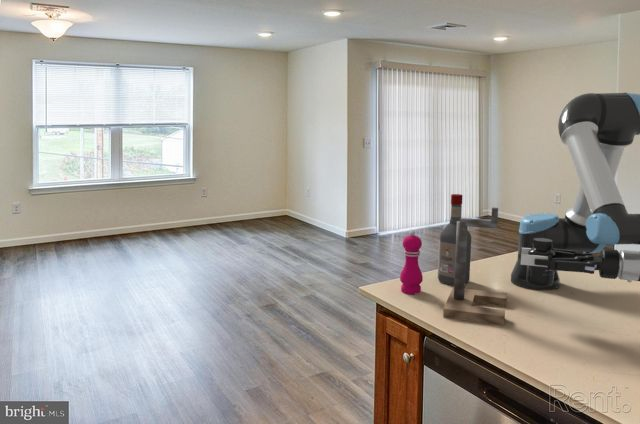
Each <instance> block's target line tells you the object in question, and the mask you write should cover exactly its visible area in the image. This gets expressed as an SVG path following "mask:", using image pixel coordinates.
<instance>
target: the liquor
mask: <svg viewBox="0 0 640 424" xmlns="http://www.w3.org/2000/svg"><path fill="white" fill-rule="evenodd" d="M462 204H463V194H459V193H453V194H451V195H450V205H451V206H450V217H449V218H450V219H449V223H448V224H447V225H446V226H445V227H444V228H443V229H442V230H441V231H440V232H439V234H438V255H437V256H438V257H437V258H438V259H437V261H438V262H437V279H438V281H439V282H440V283H441V284H445V285H448V286H449V285H450V286H453V287H454V277H455V254H456V230H457V221H460V219H461V218H462ZM471 252H472V235H471V232H470V231H469V230H468V229H467V248H466V270H465V284H468V283H469V281H470V277H471V276H470V275H471V274H470V273H471Z"/></svg>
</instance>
